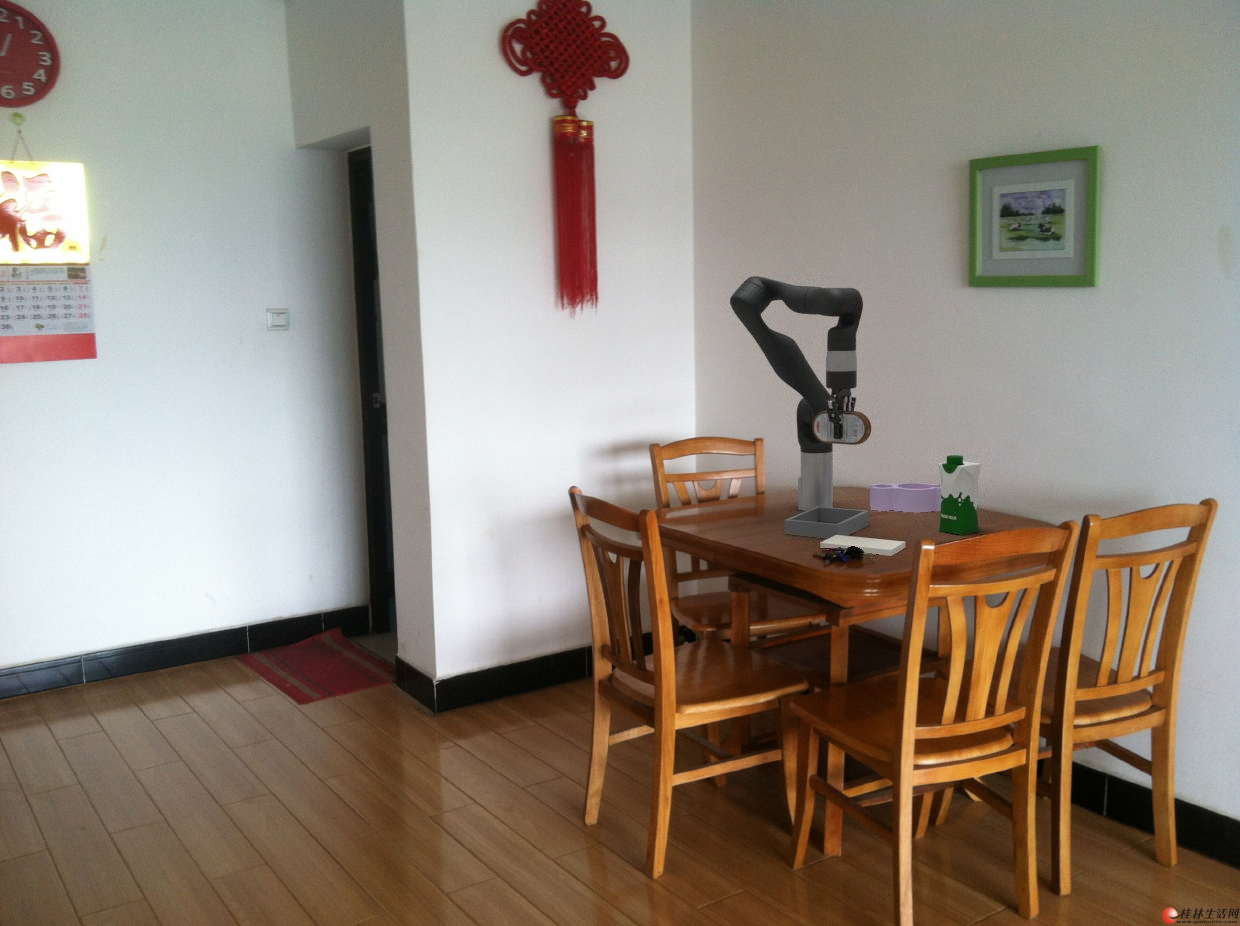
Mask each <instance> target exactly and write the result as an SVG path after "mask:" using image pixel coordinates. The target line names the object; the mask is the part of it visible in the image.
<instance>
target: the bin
mask: <svg viewBox="0 0 1240 926" xmlns="http://www.w3.org/2000/svg"><path fill="white" fill-rule="evenodd" d="M818 521H823V522H818ZM868 525H869V526H870V511H869V510H864V509H863V510H862V509H850V508H839V507H833V508H830V507H818V506H817V507H815V508H812V509H810V510H808V511H802V512H801V513H798V514H795V515H794V516H791V517H789V518H786V519H784V535H785V534H792V535H800V536H809V537H808V538H810V537H817V538H816V539H820V538H824V539H823V540H827V539H829V538H831V537H833V536H835V535H843V536H850V534H851V535H852V533H853V534H855V533H857V532H858V531H861V530H863V529H865V528H867V527H868ZM854 532H855V533H854ZM800 536H799V537H800Z"/></svg>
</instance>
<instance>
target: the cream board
mask: <svg viewBox="0 0 1240 926" xmlns="http://www.w3.org/2000/svg"><path fill="white" fill-rule="evenodd" d="M851 546H855V547H858V548H860V549H862V550H863V551H864V552H867V553H872V554H871V555H876V554H879V555H878V556H887V557H888V556H889V557H892V556H893V555H896V554H897V553H899V552H901V551H902V550H904V549H906V541H903V540H901V541H900V540H894V539H893V540H892V539H881V538H872V537H871V538H870V537H864V536H863V537H861V536H853V535H852V536H850V535H849V536H843V535H835V536H833V537H831V538H829V539H824V540H822V541H820V544H819V547H820V548H838V547H841V548H848V547H851ZM820 548H819V549H820ZM867 553H866V554H867Z"/></svg>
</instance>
